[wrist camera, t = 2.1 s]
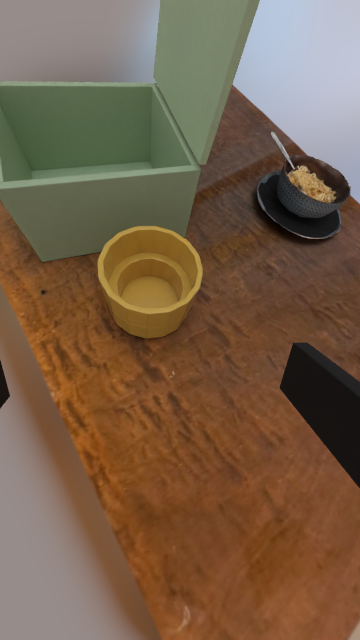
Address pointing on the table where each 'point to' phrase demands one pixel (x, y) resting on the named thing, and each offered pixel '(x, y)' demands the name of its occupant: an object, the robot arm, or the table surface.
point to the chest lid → (200, 62)
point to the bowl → (149, 279)
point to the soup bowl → (304, 196)
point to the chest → (91, 163)
